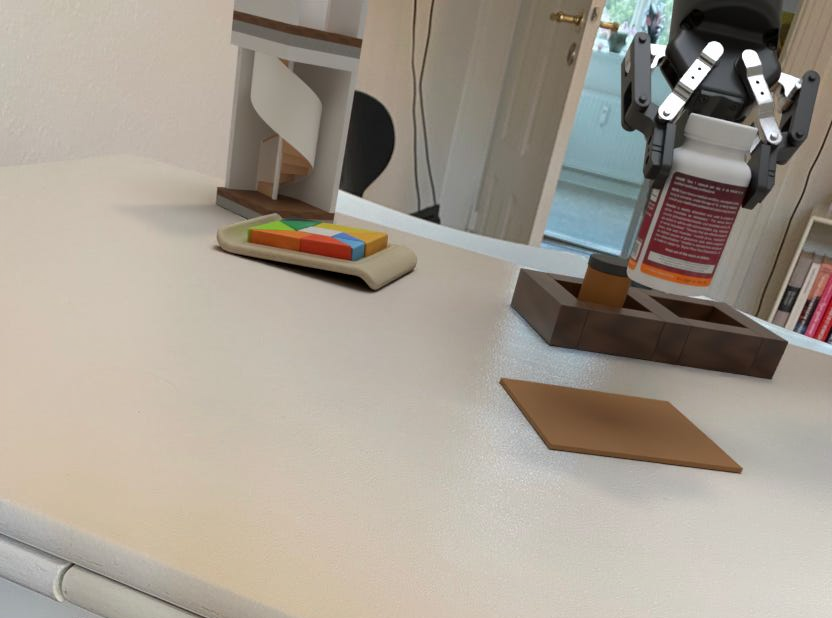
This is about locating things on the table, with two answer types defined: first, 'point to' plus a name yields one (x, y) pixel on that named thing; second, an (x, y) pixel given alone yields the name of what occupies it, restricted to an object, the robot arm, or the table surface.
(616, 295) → the spice jar
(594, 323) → the bottle rack
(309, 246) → the wooden puzzle
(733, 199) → the pill bottle
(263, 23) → the spiral staircase model
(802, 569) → the table surface
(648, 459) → the cork mat
